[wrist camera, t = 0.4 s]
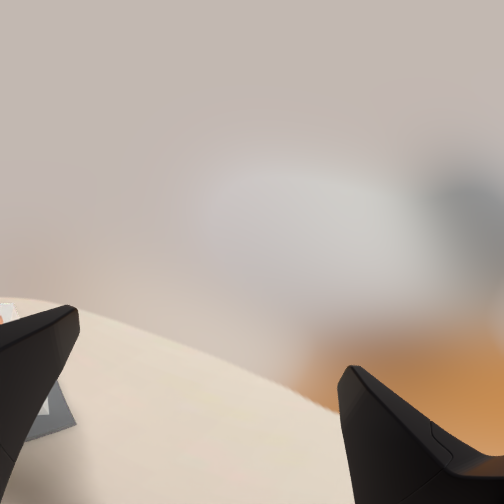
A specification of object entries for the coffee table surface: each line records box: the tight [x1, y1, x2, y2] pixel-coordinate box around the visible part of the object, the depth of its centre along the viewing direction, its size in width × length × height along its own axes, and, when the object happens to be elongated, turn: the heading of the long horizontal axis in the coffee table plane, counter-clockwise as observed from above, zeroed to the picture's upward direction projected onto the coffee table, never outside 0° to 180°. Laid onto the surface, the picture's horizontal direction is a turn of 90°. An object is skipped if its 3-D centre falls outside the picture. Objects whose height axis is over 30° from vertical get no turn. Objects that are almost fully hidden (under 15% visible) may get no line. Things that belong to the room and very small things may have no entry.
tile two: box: [0, 303, 49, 415], centre depth 13 cm, size 4×5×9 cm
